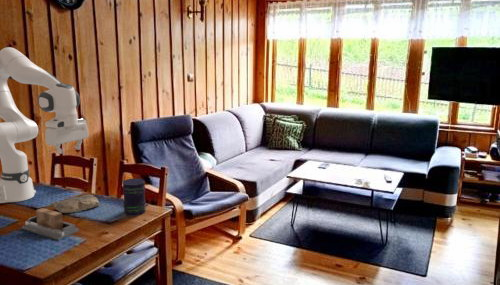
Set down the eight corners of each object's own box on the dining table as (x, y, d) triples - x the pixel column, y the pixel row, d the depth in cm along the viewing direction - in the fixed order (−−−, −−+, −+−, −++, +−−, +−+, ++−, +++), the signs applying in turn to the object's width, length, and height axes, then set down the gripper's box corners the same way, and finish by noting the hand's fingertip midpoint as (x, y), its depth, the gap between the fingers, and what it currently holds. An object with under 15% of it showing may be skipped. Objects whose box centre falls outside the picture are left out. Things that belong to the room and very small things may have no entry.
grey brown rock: (58, 217, 182) (102, 207, 195) (57, 207, 181) (101, 197, 194) (50, 209, 193) (92, 199, 205) (48, 199, 192) (91, 190, 204)
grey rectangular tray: (22, 228, 169) (21, 221, 168) (43, 220, 178) (42, 213, 177) (58, 240, 160) (57, 232, 159) (79, 230, 168) (78, 223, 168)
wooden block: (35, 226, 169) (34, 210, 168) (43, 223, 173) (42, 207, 171) (55, 232, 164) (53, 216, 163) (63, 229, 167) (61, 213, 166)
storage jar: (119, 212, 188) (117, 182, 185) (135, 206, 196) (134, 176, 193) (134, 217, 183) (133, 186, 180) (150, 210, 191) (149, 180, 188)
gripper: (81, 117, 189) (83, 146, 192) (41, 123, 171) (44, 155, 174) (90, 118, 186) (92, 147, 189) (52, 124, 168) (54, 157, 171)
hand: (69, 151), depth 181 cm, fingers open, 8 cm apart
